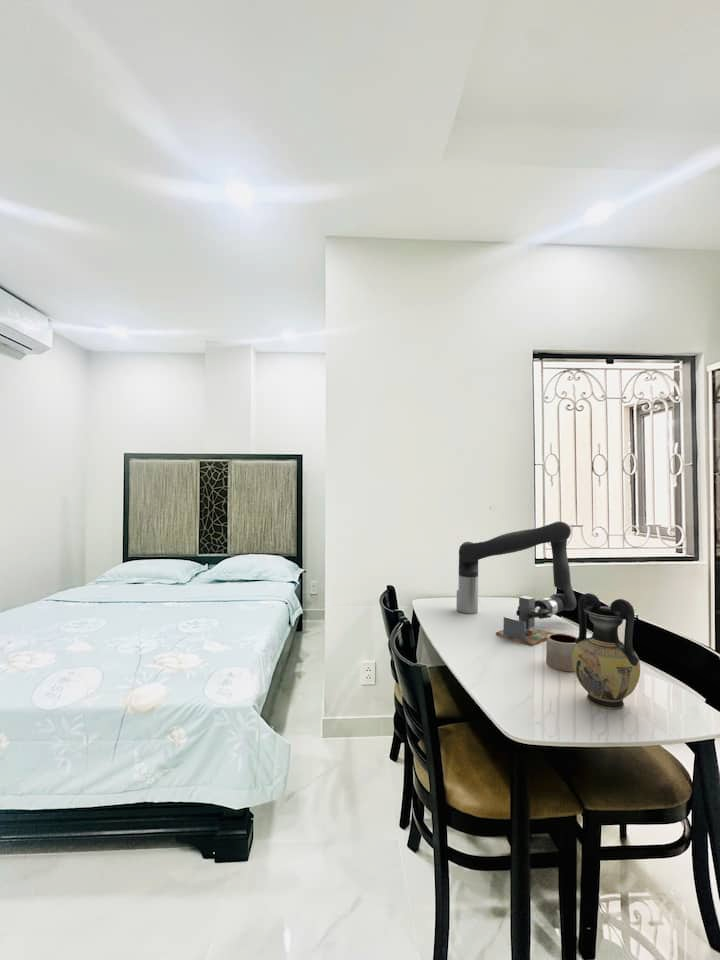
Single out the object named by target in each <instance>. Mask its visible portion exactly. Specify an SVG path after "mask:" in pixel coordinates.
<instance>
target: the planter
mask: <svg viewBox="0 0 720 960" xmlns="http://www.w3.org/2000/svg"><path fill="white" fill-rule="evenodd" d="M552 633H553V634H548V635H547V640H546V649H545V650H546V653H545V662H546V663H545V664H546V665H548V667H550V668H551V669H553V670H556V671H560V672H565V673H575V671H574V668H573V661H572V655H573V650H574V648H575V646H576V645H577V644H576V643H575V640H576V639H577V638H578V637H577V636H575V635H572V634H568V633H567V634H566V633H559V632H558V633H557V632H555V633H554V632H552Z"/></svg>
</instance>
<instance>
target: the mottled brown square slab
mask: <svg viewBox="0 0 720 960" xmlns="http://www.w3.org/2000/svg"><path fill="white" fill-rule="evenodd" d="M553 633H554V632H551V631H546V630H543V629H539V628H537V633H534V634H533V635H527V634H526V640H521V639H517V638H514V637H511V636H507V635H504V629H501V630H499V631H496V632H495V636H498V637H500V638H504V639H507V640H511V641H515V642H517V643H520V644H525V645H528V646H531V647H533V646H536V645H539V644H541V643H543V642H547V635H548V634H553Z"/></svg>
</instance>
